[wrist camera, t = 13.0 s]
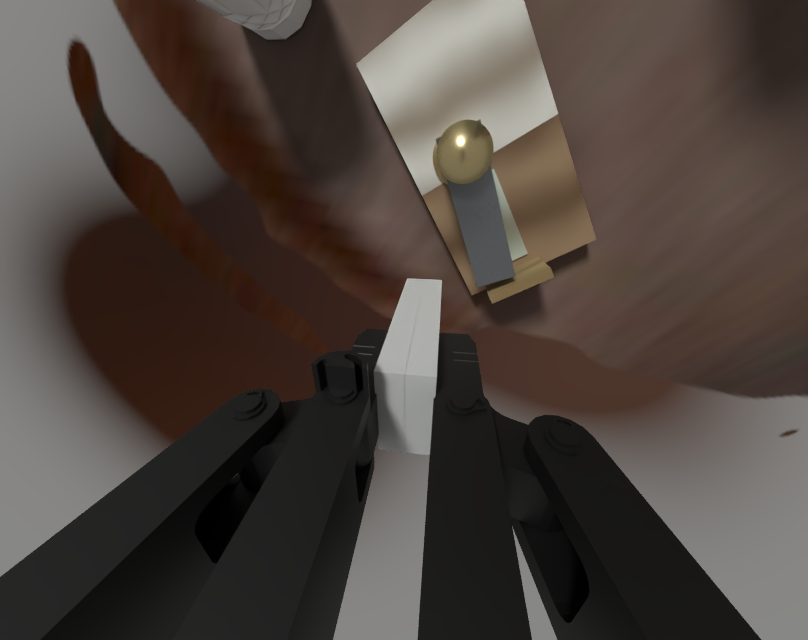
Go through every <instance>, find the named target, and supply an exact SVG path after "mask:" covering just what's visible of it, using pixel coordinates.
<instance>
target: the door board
mask: <svg viewBox="0 0 808 640" xmlns="http://www.w3.org/2000/svg"><path fill="white" fill-rule="evenodd" d="M356 65H357V67H358V69H359V71H360V73H361V75H362V77H363V79H364V81H365V83H366V85H367V87H368V89H369V91H370V93H371V95H372V97H373V99H374V101H375V103H376V105H377V107H378V109H379V111H380V113H381V115H382V117H383V119H384V121H385V123H386V125H387V127H388V129H389V131H390V133H391V135H392V137H393V139H394V141H395V143H396V145H397V147H398V149H399V151H400V153H401V155H402V157H403V159H404V161H405V163H406V165H407V167H408V169H409V171H410V173H411V175H412V177H413V179H414V181H415V183H416V185H417V187H418V189H419V191H420V193H421V195H422V197H423V199H424V201H425V203H426V205H427V207H428V209H429V211H430V213H431V215H432V217H433V219H434V221H435V223H436V225H437V227H438V229H439V231H440V233H441V235H442V237H443V239H444V241H445V243H446V245H447V247H448V249H449V251H450V253H451V255H452V257H453V259H454V261H455V263H456V265H457V267H458V269H459V271H460V273H461V275H462V277H463V279H464V281H465V283H466V285H467V287H468V289H469V291H470V293H471V295H474V294H476V293H479V292H481V291H483V290H485V289H486V290H487V293H488V296H489V298H490V300H491V302H492V304H493V303H495V302H498V301H500V300H502V299H505V298H507V297H509V296H512V295H514V294H516V293H519V292H521V291H523V290H526V289H528V288H530V287H532V286H535V285H537V284H539V283H542V282H544V281H546V280H549V279H551V278H553V277H554V275H553V272H552V270H551V268H550V267H549V266H548V265H547V264H546V263H545V262H548V261H550V260H552V259H554V258H556V257H559V256H561V255H563V254H565V253H568V252H570V251H572V250H574V249H577V248H579V247H581V246H583V245H585V244H588V243H590V242H592V241H594V240H596V237H595V233H594V230H593V227H592V224H591V220H590V217H589V214H588V210H587V207H586V204H585V201H584V197H583V194H582V191H581V187H580V184H579V181H578V177H577V174H576V171H575V168H574V164H573V161H572V158H571V154H570V151H569V148H568V144H567V141H566V138H565V135H564V131H563V128H562V125H561V121H560V118H559V115H558V112H557V108H556V105H555V102H554V98H553V95H552V92H551V88H550V85H549V82H548V79H547V75H546V72H545V69H544V65H543V62H542V59H541V55H540V52H539V49H538V46H537V42H536V39H535V36H534V32H533V29H532V26H531V23H530V19H529V16H528V13H527V9H526V6H525V3H524V0H432V1H431V2H430V3H429V4H428V5H426V6H425V7H424V8H423V9H422V10H420V11H419V12H418V13H417V14H416V15H414V16H413V17H412V18H411V19H410V20H408V21H407V22H406V23H405V24H404V25H402V26H401V27H400V28H399V29H398V30H397V31H395V32H394V33H393V34H392V35H391V36H389V37H388V38H387V39H386V40H385V41H383V42H382V43H381V44H380V45H379V46H377V47H376V48H375V49H374V50H373V51H371V52H370V53H369V54H368V55H367V56H365V57H364V58H363V59H362V60H361V61H359V62H358V63H357V64H356ZM468 119H469V120H475V121H477V120H480V119H481V124H483V125H484V126H485V127H486V128H487V129H488V131H489V133H490V134H491V137H492V140H493V146H494V151H493V158H492V161H491V163H490V164H491V169H492V173H493V178H494V182H495V187H496V191H497V196H498V200H499V205H500V209H501V214H502V218H503V223H504V227H505V232H506V236H507V241H508V245H509V250H510V254H511V259H512V263H513V268H514V272H515V277H512V278H508V279H505V280H501V281H498V282H494V283H491V284H488V285H484V286H481V287H477V285H476V281H475V277H474V274H473V270H472V267H471V263H470V260H469V256H468V253H467V249H466V246H465V242H464V238H463V235H462V231H461V228H460V224H459V221H458V217H457V214H456V210H455V207H454V203H453V200H452V196H451V192H450V189H449V185H448V182H447V178H445V177H444V175H443V174H442V173H441V171H440V169H439V167H438V164H437V158H436V152H437V143H436V139H437V138H439V137H441V136H442V134H443V133H444V132H445V130H446V129H447V128H448V127H449V126H451V125H452V124H454V123H456V122H458V121H461V120H468Z"/></svg>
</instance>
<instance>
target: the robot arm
mask: <svg viewBox="0 0 808 640" xmlns="http://www.w3.org/2000/svg"><path fill="white" fill-rule="evenodd" d="M441 287H442V280H430V279H409V278H407V281H406V283H405V286H404V289H403V292H402V294H401V297H400V300H399V303H398V305H397V308H396V311H395V314H394V317H393V319H392V322H391V325H390V328H389V330H378V329H377V330H376V329H367V330H365V331H364V332H363V333H361V334H360V335H358V337H357V339H356V341H355V343H354V344H353V346H352V348H351V350H350V351H335V352H331V353H327V354H325V355H323V356H321V357H319V358H317V359H316V360H315V361H314V362H313V363H312V370H313V376H314V381H315V386H316V393H315V395H314V397H312V398H308V399H303V400H296V401H290V402H283V403H281V401H280V399H279V396H278V394H277V393H275V392H273V391H272V390H267V389H255V390H249V391H247V392H244V393H241V394H239V395H237V396H235V397H233V398H232V399H230V400H228V401H227V402H226V403H225V404H223V405H222V406H221V407H219V408H218V409H217V410H216V411H214V412H213V413H212V414H210V415H209V416H208V417H206V418H205V419H204V420H203V421H201V422H200V423H199V424H197V425H196V426H195V427H194V428H192V429H191V430H190V431H188V432H187V433H186V434H185V435H183V436H182V437H181V438H179V439H178V440H177V441H175V442H174V443H173V444H172V445H170V446H169V447H168V448H166V449H165V450H164V451H162V452H161V453H160V454H159V455H157V456H156V457H155V458H154V459H152V460H151V461H150V462H148V463H147V464H146V465H144V466H143V467H142V468H141V469H139V470H138V471H137V472H135V473H134V474H133V475H131V476H130V477H129V478H128V479H126V480H125V481H124V482H122V483H121V484H120V485H119V486H117V487H116V488H115V489H114V490H112V491H111V492H109V493H108V494H107V495H106V496H104V497H103V498H102V499H100V500H99V501H98V502H97V503H95V504H94V505H93V506H91V507H90V508H89V509H88V510H86V511H85V512H84V513H82V514H81V515H80V516H78V517H77V518H76V519H75V520H73V521H72V522H71V523H69V524H68V525H67V526H66V527H64V528H63V529H62V530H60V531H59V532H58V533H56V534H55V535H54V536H53V537H51V538H50V539H49V540H48V541H46V542H45V543H44V544H42V545H41V546H40V547H38V548H37V549H36V550H34V551H33V552H32V553H31V554H29V555H28V556H27V557H25V558H24V559H23V560H22V561H20V562H19V563H18V564H16V565H15V566H14V567H13V568H11V569H10V570H9V571H8V572H6V573H5V574H4V575H2V576H1V577H0V640H333V637H334V632H335V628H336V624H337V620H338V616H339V612H340V608H341V603H342V599H343V595H344V591H345V587H346V583H347V579H348V574H349V570H350V566H351V562H352V558H353V553H354V549H355V545H356V541H357V537H358V533H359V528H360V525H361V520H362V516H363V512H364V507H365V504H366V500H367V496H368V491H369V487H370V483H371V479H372V475H373V470H374V450H375V446H376V442H377V439H378V449H381V450H389V451H398V452H406V453H415V454H424V455H430V462H429V476H428V491H427V506H426V522H425V537H424V552H423V567H422V582H421V598H420V613H419V629H418V640H532V637H531V632H530V626H529V620H528V614H527V609H526V603H525V598H524V592H523V586H522V580H521V575H520V569H519V564H518V557H517V552H516V546H515V540H514V535H513V529H514V531H515V534H516V536H517V539H518V541H519V544H520V546H521V549H522V551H523V554H524V556H525V559H526V562H527V564H528V567H529V569H530V572H531V574H532V576H533V579H534V582H535V584H536V587H537V589H538V592H539V594H540V597H541V599H542V602H543V604H544V607H545V609H546V611H547V614H548V617H549V619H550V622H551V624H552V627H553V629H554V632H555V634H556V637H557V640H761V639H760V638H759V636H758V635H757V634H756V633H755V632H754V631H753V629H752V628H751V627H750V626H749V624H748V623H747V622H746V621H745V620H744V618H743V617H742V616H741V615H740V613H739V612H738V611H737V610H736V609H735V607H734V606H733V605H732V604H731V603H730V602H729V600H728V599H727V598H726V597H725V595H724V594H723V593H722V592H721V591H720V589H719V588H718V587H717V586H716V585H715V583H714V582H713V581H712V580H711V578H710V577H709V576H708V575H707V574H706V572H705V571H704V570H703V569H702V568H701V566H700V565H699V564H698V563H697V562H696V560H695V559H694V558H693V557H692V555H691V554H690V553H689V552H688V551H687V549H686V548H685V547H684V546H683V545H682V543H681V542H680V541H679V540H678V538H677V537H676V536H675V535H674V534H673V532H672V531H671V530H670V529H669V528H668V526H667V525H666V524H665V523H664V522H663V520H662V519H661V518H660V517H659V516H658V514H657V513H656V512H655V511H654V510H653V508H652V507H651V506H650V505H649V504H648V502H647V501H646V500H645V499H644V497H643V496H642V495H641V494H640V493H639V491H638V490H637V489H636V488H635V486H634V485H633V484H632V483H631V482H630V480H629V479H628V478H627V477H626V476H625V474H624V473H623V472H622V471H621V470H620V468H619V467H618V466H617V465H616V463H615V462H614V461H613V460H612V459H611V457H610V456H609V455H608V454H607V453H606V452H605V450H604V449H603V448H602V447H601V445H600V444H599V443H598V442H597V441H596V439H595V438H594V437H593V436H592V435H591V434H590V433H589V432H588V431H587V430H586V429H584V428H583V427H582V426H580V425H578V424H577V423H575V422H573V421H572V420H569V419H566V418H563V417H560V416H554V415H543V416H540V417H536V418H535V419H534V420H533V421H531V422H530V424H529V425H527V424H524V423H521V422H518V421H516V420H513V419H510V418H508V417H505V416H503V415H501V414H500V413H498V412H497V411H495V410H494V409H493V408H492V407H491V406H490V404H489V402H488V400H487V399H486V398H485V397H484V394H483V389H482V383H481V375H480V369H479V363H478V356H477V350H476V344H475V342H474V341H473V340H472V339H471V338H470V336H469V335H467V334H452V333H439V325H440V306H441ZM237 473H238V474H237ZM236 474H237V475H236ZM235 475H236V476H235ZM234 476H235V477H234ZM233 477H234V478H233ZM512 526H513V529H512Z"/></svg>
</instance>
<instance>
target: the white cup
mask: <svg viewBox="0 0 808 640" xmlns="http://www.w3.org/2000/svg"><path fill="white" fill-rule="evenodd" d="M196 1H198V2H200V3H201V4H203V5H205V6H206V7H208V8H210V9H211V10H213V11H214V12H216V13H218V14H219V15H221V16H223V17H225V18H227V19H229V20H231V21H232V22H234V23H235V24H238V25H242V26H244V27H246V28H248V29H249V30H251V31H253V32H254V33H256V34H258V35H260V36H261V37H263V38H265V39H266V40H277V39H287V38H288V37H289V36H291V35H292V34H293V33H295V32H296V31H297V30H299V29H300V28H301V27H302V25H303V23H304V21H305V18H306V16H307V14H308V12H309V10H310V7H311V4H312V0H196Z"/></svg>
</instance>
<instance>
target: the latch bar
mask: <svg viewBox="0 0 808 640" xmlns="http://www.w3.org/2000/svg"><path fill="white" fill-rule="evenodd" d="M436 143H437V152H436V158H437V164H438V167H439V169H440V171H441V173H442V174H443V175H444V177H445V178H447V182H448V185H449V189H450V192H451V196H452V200H453V203H454V207H455V210H456V214H457V217H458V221H459V224H460V228H461V231H462V235H463V238H464V242H465V246H466V249H467V253H468V256H469V260H470V263H471V267H472V270H473V274H474V277H475V281H476V285H477V287H481V286H484V285H488V284H491V283H494V282H498V281H501V280H505V279H508V278H512V277H515V272H514V268H513V263H512V259H511V254H510V250H509V245H508V241H507V236H506V232H505V227H504V223H503V218H502V214H501V209H500V205H499V200H498V196H497V191H496V187H495V182H494V178H493V173H492V169H491V164H490V163H491V161H492V158H493V151H494V146H493V140H492V137H491V134H490V133H489V131H488V129H487V128H486V127H485V126H484V125H483V124H481V119H480V120H477V121H475V120H469V119H468V120H461V121H458V122H456V123H454V124H452V125H451V126H449V127H448V128H447V129H446V130H445V132H444V133H443V134H442V136H441V137H439V138H437V139H436Z"/></svg>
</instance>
